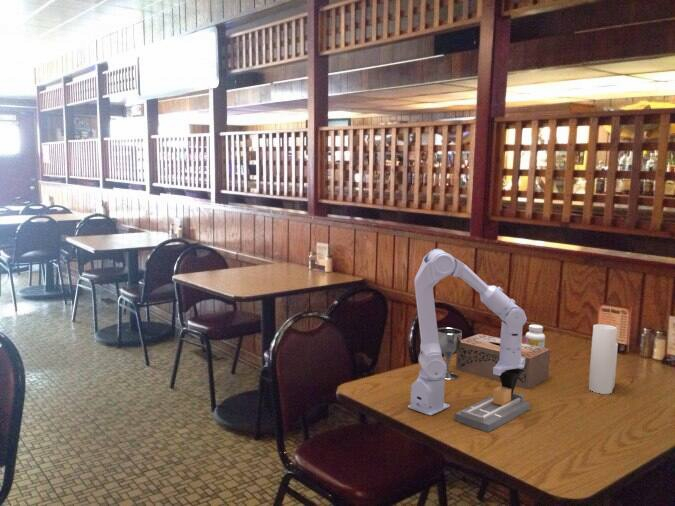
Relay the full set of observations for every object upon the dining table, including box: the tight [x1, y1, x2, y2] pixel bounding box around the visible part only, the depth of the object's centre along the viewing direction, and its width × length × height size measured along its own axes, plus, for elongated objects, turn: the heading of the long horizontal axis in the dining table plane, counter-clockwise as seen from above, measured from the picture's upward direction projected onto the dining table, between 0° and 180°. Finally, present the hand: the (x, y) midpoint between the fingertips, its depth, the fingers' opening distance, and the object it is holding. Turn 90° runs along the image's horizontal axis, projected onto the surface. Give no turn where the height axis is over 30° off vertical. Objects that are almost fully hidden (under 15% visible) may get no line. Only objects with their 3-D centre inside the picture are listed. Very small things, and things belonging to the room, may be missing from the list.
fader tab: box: [492, 385, 511, 406], centre depth 161 cm, size 4×3×4 cm
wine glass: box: [437, 327, 463, 380], centre depth 189 cm, size 8×8×15 cm
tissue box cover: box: [455, 333, 551, 390], centre depth 192 cm, size 26×14×10 cm, turn 46°
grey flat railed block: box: [454, 392, 531, 433], centre depth 158 cm, size 23×10×3 cm, turn 135°
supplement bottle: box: [524, 324, 546, 348], centre depth 206 cm, size 7×7×13 cm
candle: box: [588, 323, 619, 395], centre depth 180 cm, size 11×7×20 cm, turn 149°
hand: (507, 394), depth 163 cm, fingers closed
